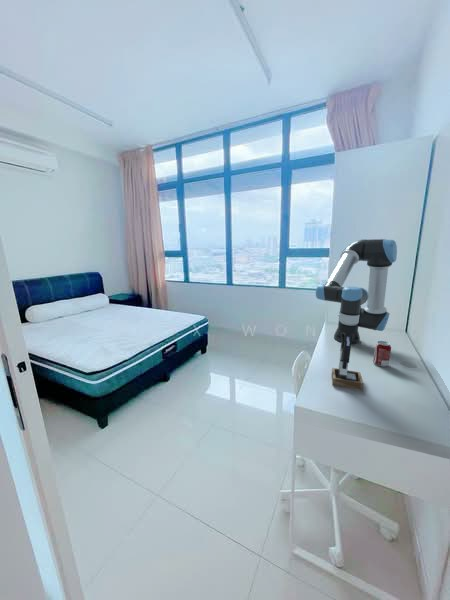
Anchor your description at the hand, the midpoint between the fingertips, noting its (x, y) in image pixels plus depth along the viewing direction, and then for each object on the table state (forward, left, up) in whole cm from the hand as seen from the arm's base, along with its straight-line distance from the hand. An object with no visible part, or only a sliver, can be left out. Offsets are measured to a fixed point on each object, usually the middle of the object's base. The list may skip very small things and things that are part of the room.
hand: (342, 371), depth 112 cm
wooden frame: (0, +2, -5) cm, 6 cm away
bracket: (0, +2, -4) cm, 4 cm away
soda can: (-25, +20, -5) cm, 32 cm away
